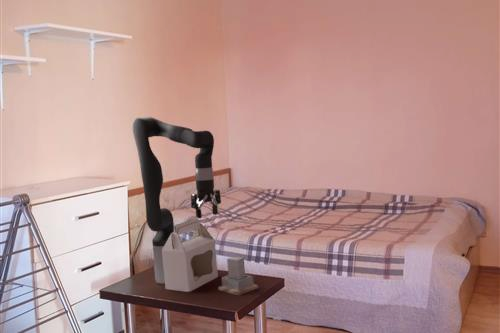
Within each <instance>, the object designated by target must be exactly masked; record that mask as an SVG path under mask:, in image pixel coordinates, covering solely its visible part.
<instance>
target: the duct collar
mask: <svg viewBox="0 0 500 333" xmlns="http://www.w3.org/2000/svg"><path fill="white" fill-rule="evenodd" d="M254 284H255V283H254V276H253V275H249V274H246V273H245V278H243V279H241V280H235V279H231V278H229V275H228V274H227V275H225V276H221V286H222V287H225V288H229V289H233V290H236V291H241V290H243V289H246V288H249V287H251V286H254Z"/></svg>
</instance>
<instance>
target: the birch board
mask: <svg viewBox="0 0 500 333" xmlns="http://www.w3.org/2000/svg"><path fill="white" fill-rule="evenodd" d="M253 284H254V286H251V287H249V288H246V289H243V290H241V291H236V290H233V289H229V288H225V287H222V285H219V286H218V287H217V289H218V290H219V291H220V292H225V293H228V294H232V295H236V296H242V295H244V294H246V293H249V292H252V291H254V290H256V289H259V285H258V284H255V283H253Z"/></svg>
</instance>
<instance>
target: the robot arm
mask: <svg viewBox="0 0 500 333" xmlns="http://www.w3.org/2000/svg"><path fill="white" fill-rule="evenodd" d="M131 127H132V128H131V130H132V135H133V139H134V142H135V146H136V150H137V155H138V156H137V157H138V159H139V165H140V174H141V180H142V186H143V194H144V200H145V214H146V215H145V216H146V224H147V226H148V228H149V229H150V230H151V231H152V232H156V234H155V235H154V237H153V238H152V240H151V242H152V251H153V259H154V260H153V268H154V280H155V282H156V283H157V284H163V285H165V279H164V269H163V258H162V249H163V247H164V245H165V244H166V242H167V240H168V238H169V236H170V235H171V233H173V232H175V225H174V216H173V214H172V211H170V210H169V208H166V207H163V208H161V204H160V201H161V200H160V198H161V192H162V188H163V184H164V183H163V182H164V175H163V169H162V165H161V163H160V161H159V160H158V158H157V156H156V155H155V154H154V151H153V150H152V148H151V144H150V139H149V138H153V137H164V138H167V139H169V140H170V141H171V142H175V143H179V144H184V145H186V146H188V147H191V148H192V149H193V148H194V149H199V152H198V153H197V154H196V155H194V156H195V157H194V164H195V175H194V176H195V186H196V193H195V194H194V193H192V194H190V208H191V209H193V210H194V209H195V216H196V217H195V218H198V219H202V206H203V205H204V204H206V203H208V202H209V203H210V204H211V205H212V206H211V208H212V209H211V210H212V211H211V212H212V215H213V216H214V215H218V205H219V204H222V200H221V191H220V189H215V182H214V181H215V180H214V179H215V178H214V170H213V161H212V160H213V159H212V156H213V153H214V152H213V151H214V147H215V146H214V145H215V138H214V135H213V133H212V132H210V131H209V130H199V131H195V130H193V129H191V128H188V127H185V126H180V125H175V124H170V123H167V122H164V121H162V120H159V119H158V118H154V117H152V116H147V117H146V116H145V117H141V116H140V117H136V118H135V119H134V120H133V122H132V126H131Z"/></svg>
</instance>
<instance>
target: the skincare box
mask: <svg viewBox="0 0 500 333" xmlns="http://www.w3.org/2000/svg"><path fill="white" fill-rule="evenodd" d="M226 262H227V272H228V274H227V275H229V278H231V279H235V280H241V279H243V278H245V274H246V268H245V258H244V257H240V256H231V257H229V258H227V259H226Z"/></svg>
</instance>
